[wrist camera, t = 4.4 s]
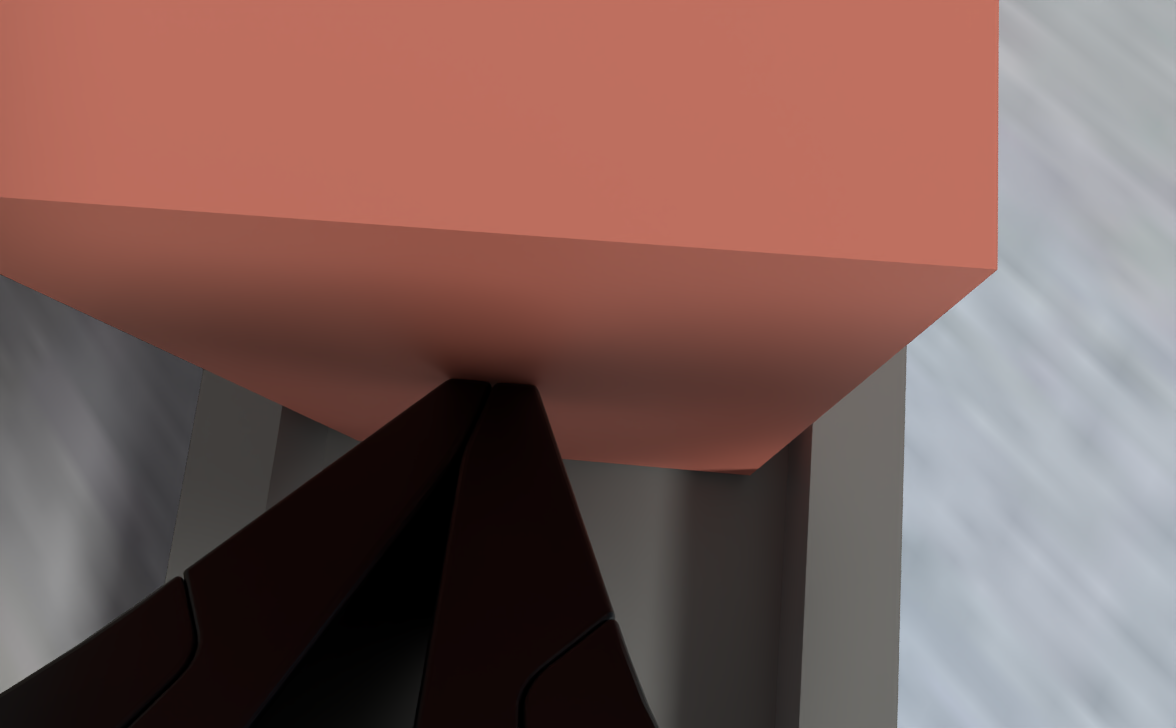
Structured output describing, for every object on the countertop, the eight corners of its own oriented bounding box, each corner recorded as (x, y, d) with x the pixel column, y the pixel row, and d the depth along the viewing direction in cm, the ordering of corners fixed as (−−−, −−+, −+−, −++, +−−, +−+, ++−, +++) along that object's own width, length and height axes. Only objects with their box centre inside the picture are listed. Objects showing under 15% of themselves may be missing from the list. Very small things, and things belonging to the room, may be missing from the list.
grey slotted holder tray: (843, 914, 15) (1004, 1180, 8) (210, 839, 15) (-93, 1031, 9) (875, 6, 18) (1008, -308, 11) (351, -23, 18) (201, -334, 12)
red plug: (750, 475, 14) (997, 268, 4) (358, 440, 15) (-195, 183, 5) (767, 164, 15) (1001, -552, 6) (401, 140, 16) (15, -567, 6)
